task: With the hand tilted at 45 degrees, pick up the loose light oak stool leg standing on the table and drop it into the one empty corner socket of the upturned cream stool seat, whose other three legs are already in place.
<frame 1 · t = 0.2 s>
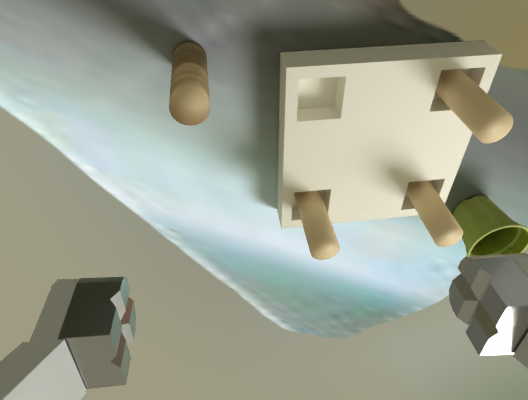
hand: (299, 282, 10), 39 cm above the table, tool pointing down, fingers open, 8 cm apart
stool leg: (189, 57, 46), on the table
plant pot: (469, 207, 68), on the table
stool seat: (367, 135, 56), on the table
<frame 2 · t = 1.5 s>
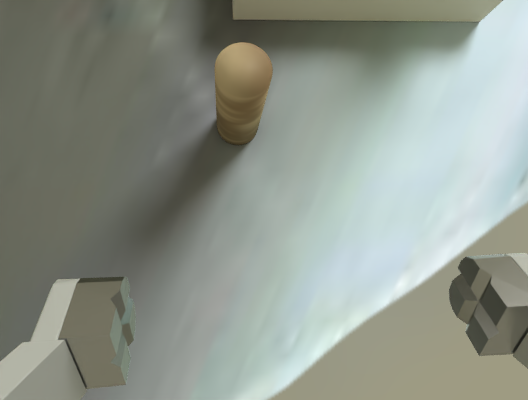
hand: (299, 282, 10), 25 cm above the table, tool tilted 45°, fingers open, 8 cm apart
stool leg: (237, 125, 37), on the table
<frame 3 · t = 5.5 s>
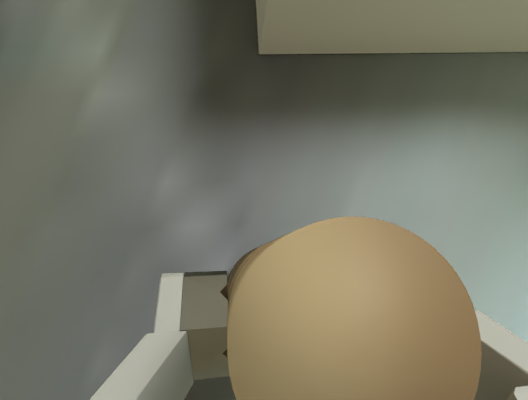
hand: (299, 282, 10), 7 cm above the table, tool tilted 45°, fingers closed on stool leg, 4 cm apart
stool leg: (272, 290, 17), on the table, touching gripper
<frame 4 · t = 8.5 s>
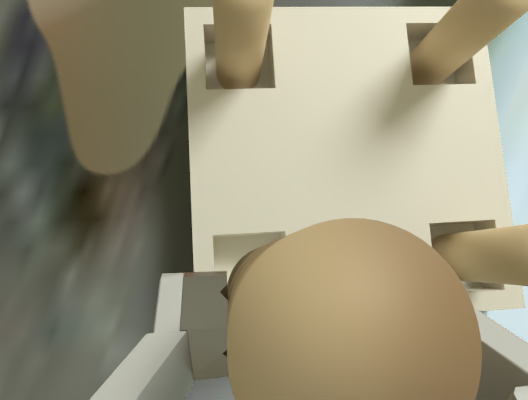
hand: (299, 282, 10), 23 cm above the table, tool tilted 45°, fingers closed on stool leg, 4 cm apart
stool leg: (272, 291, 17), point 17 cm above the table, touching gripper
stool seat: (337, 166, 35), on the table
when the fingers open (9 cm above the table, at t = 11.6 s): stool leg drops 1 cm, resting on stool seat.
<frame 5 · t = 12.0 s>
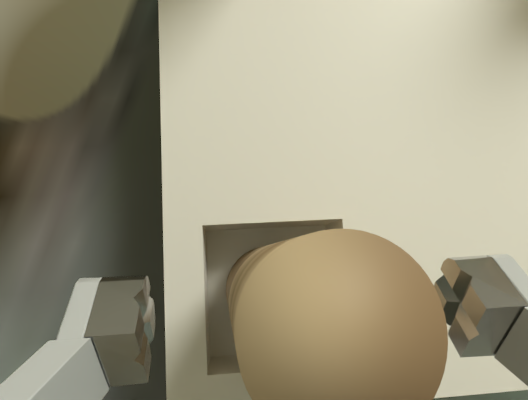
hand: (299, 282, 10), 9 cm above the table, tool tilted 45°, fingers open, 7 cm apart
stool leg: (268, 289, 18), point 1 cm above the table, touching stool seat
stool seat: (417, 114, 21), on the table
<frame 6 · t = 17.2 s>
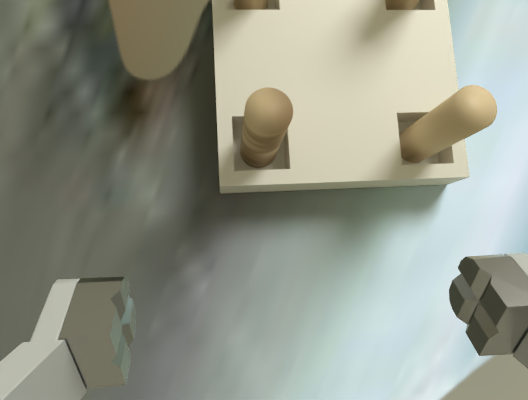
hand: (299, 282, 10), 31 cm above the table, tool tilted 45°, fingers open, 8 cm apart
stool leg: (258, 150, 42), point 1 cm above the table, touching stool seat
stool seat: (328, 78, 45), on the table
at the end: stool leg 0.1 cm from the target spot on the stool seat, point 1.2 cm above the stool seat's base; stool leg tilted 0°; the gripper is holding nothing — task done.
